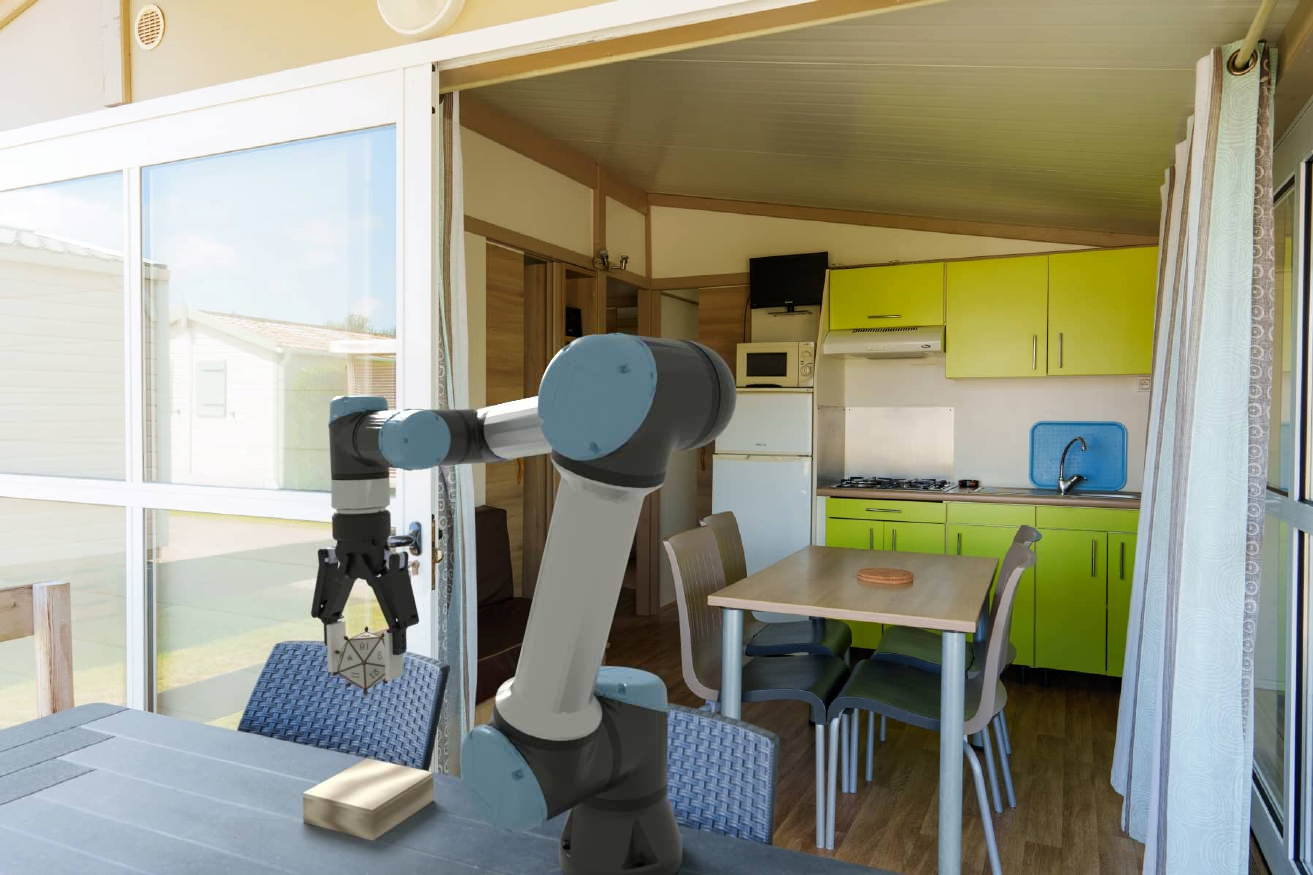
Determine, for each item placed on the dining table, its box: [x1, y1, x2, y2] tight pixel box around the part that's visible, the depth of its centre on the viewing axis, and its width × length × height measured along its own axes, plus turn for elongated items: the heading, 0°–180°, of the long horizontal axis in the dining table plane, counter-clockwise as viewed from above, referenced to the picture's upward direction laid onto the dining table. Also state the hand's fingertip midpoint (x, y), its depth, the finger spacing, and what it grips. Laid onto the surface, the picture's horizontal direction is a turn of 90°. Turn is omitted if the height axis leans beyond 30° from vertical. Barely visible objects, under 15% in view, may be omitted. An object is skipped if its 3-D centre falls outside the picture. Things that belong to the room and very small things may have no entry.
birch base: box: [302, 758, 435, 841], centre depth 117 cm, size 12×12×4 cm
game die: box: [331, 625, 388, 697], centre depth 116 cm, size 9×8×10 cm
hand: (365, 673), depth 116 cm, fingers closed on game die, 9 cm apart
